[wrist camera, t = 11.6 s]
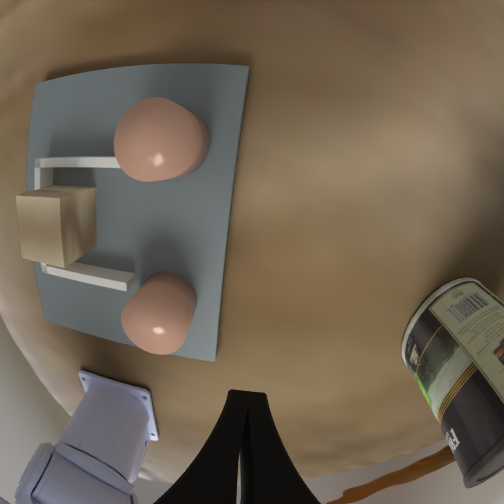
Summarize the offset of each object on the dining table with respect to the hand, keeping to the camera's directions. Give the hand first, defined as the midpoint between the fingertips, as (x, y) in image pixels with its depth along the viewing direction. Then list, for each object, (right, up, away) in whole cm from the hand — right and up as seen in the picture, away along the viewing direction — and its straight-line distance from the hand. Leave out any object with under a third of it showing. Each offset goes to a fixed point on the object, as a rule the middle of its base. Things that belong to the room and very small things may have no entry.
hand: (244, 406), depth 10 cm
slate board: (-9, +8, +8) cm, 15 cm away
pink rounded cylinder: (-5, +3, +9) cm, 11 cm away
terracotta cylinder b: (-4, +12, +5) cm, 14 cm away
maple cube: (-12, +9, +7) cm, 16 cm away
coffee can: (+18, -1, +10) cm, 21 cm away
